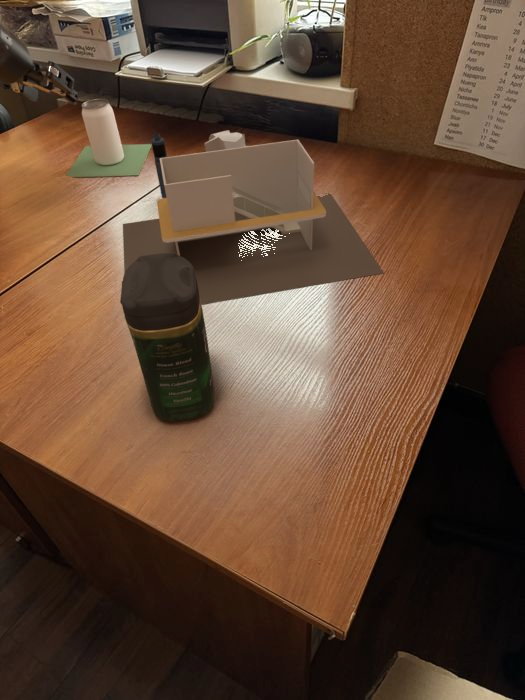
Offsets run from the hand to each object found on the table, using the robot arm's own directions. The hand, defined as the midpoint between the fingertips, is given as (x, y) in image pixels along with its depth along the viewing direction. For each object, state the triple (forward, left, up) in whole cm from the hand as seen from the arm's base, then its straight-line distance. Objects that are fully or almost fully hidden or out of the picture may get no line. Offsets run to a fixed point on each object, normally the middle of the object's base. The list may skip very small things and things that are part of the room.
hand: (55, 98), depth 93 cm
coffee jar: (+51, -40, -17) cm, 67 cm away
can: (-2, +11, -17) cm, 21 cm away
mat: (-2, +11, -17) cm, 21 cm away
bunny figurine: (+23, +22, -17) cm, 37 cm away
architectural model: (+42, -8, -17) cm, 46 cm away
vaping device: (+21, +2, -17) cm, 27 cm away
